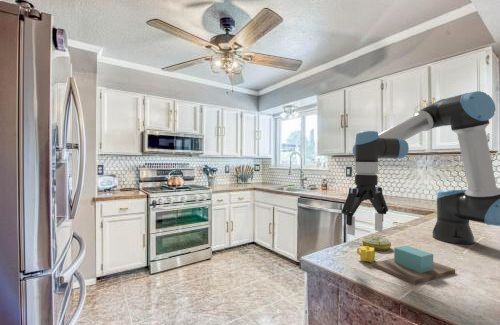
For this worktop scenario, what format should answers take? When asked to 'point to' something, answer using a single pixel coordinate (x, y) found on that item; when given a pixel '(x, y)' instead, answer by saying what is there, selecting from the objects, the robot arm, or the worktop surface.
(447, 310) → the worktop surface
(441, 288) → the worktop surface
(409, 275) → the walnut board
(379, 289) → the worktop surface
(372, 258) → the teapot
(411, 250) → the base brick
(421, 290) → the worktop surface
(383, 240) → the decorated donut
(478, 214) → the robot arm
